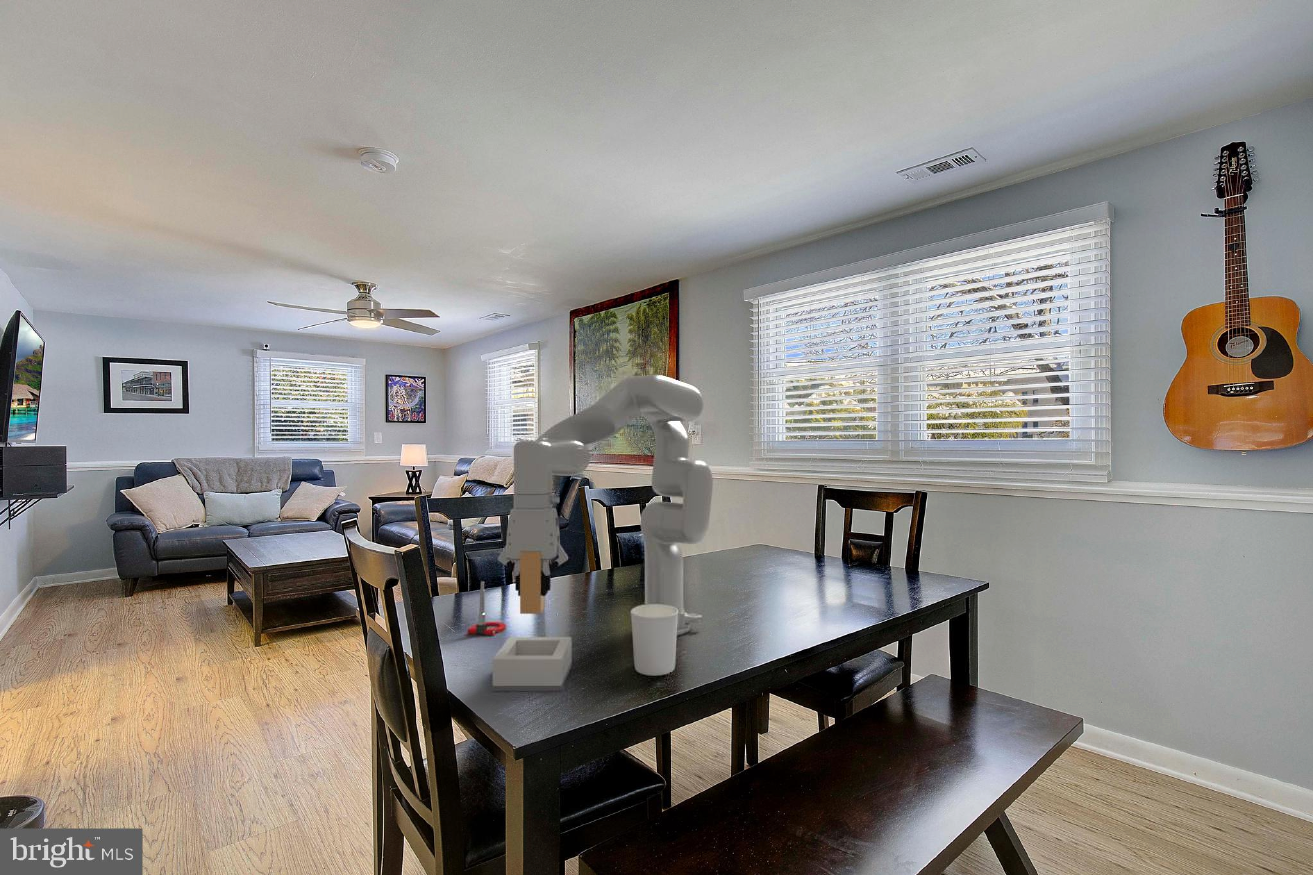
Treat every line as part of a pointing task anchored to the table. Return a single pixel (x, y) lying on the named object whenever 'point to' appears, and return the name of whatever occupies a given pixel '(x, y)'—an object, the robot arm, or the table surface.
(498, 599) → the table surface
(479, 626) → the tow hook
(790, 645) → the table surface
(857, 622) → the table surface
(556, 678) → the well
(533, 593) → the wooden square beam
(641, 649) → the candle holder
